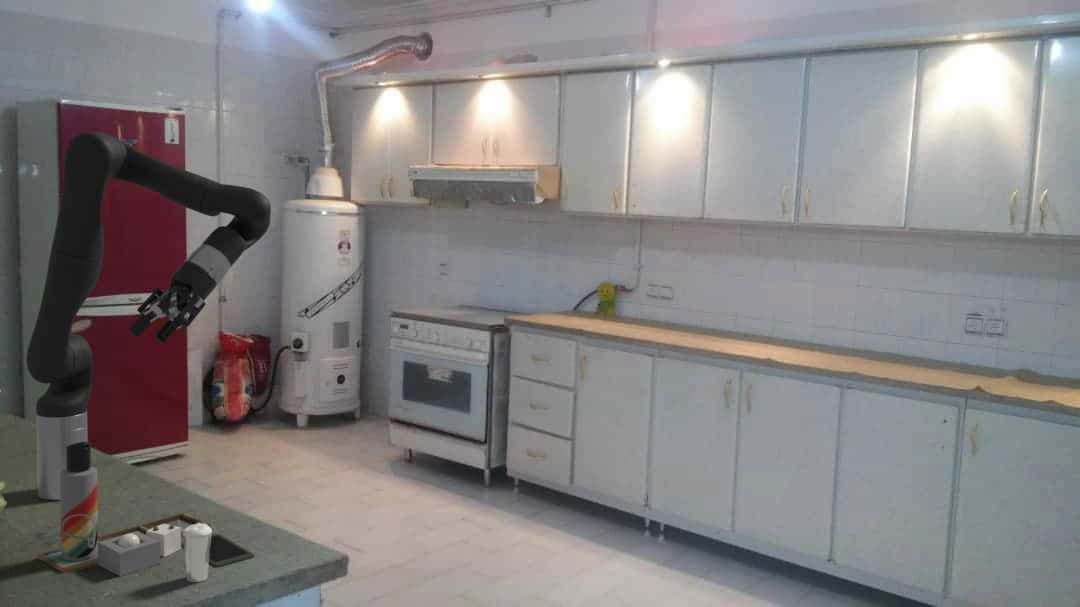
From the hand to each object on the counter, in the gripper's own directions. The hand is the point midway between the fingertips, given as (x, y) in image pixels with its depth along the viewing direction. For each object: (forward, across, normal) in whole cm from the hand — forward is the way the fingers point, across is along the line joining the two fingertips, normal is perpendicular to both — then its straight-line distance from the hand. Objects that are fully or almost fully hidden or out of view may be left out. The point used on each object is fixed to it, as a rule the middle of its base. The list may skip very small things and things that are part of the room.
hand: (145, 337), depth 163 cm
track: (+30, +4, +22) cm, 37 cm away
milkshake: (+31, +26, +21) cm, 46 cm away
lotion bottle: (+36, +4, +16) cm, 40 cm away
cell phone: (+24, +19, +28) cm, 42 cm away
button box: (+34, +13, +18) cm, 40 cm away
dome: (+33, +13, +18) cm, 40 cm away
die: (+28, +12, +23) cm, 39 cm away
